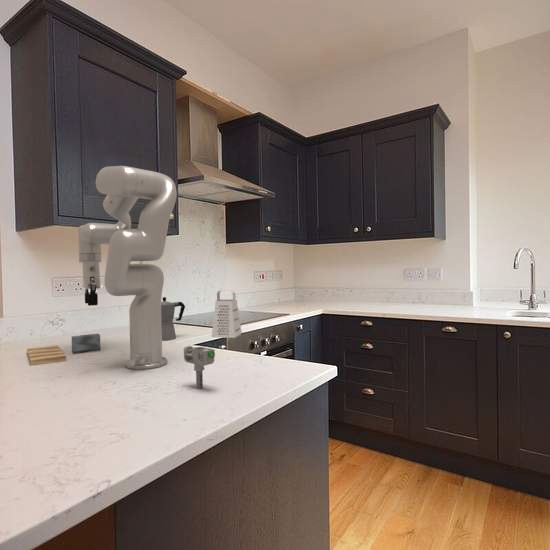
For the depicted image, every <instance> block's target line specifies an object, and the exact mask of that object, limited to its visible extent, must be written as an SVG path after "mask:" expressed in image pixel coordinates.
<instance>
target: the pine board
mask: <svg viewBox="0 0 550 550" xmlns="http://www.w3.org/2000/svg"><path fill="white" fill-rule="evenodd" d="M26 353H27V357H28V361H29V363H30V366H37V365H44V364H49V363H50V364H51V363H59V362H60V363H61V362H66V361H67V356H66V354H65V353H64V351H63V350H62V349H61V347H60V346H59V345H58V344H56V345H55V344H54V345H46V346H41V347H40V346H38V347H30V348H26Z"/></svg>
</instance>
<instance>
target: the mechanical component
mask: <svg viewBox="0 0 550 550" xmlns="http://www.w3.org/2000/svg"><path fill="white" fill-rule="evenodd" d="M215 355H216V352H215V349H214V348H209V347H204V346H196V347H193V346H191V345H187V346H185V347H183V360H184V361H185V362H186V363H188V364H193V366H194V367H193V370H194V371H195V379H196V380H195V381H196V382H195V385H196V389H201V388H204V387H203V386H204V384H203V382H204V381H203V376H204V375H203V371H204V370H205V366H208V365H212V364H214V362H215V357H216V356H215Z"/></svg>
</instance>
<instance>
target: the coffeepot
mask: <svg viewBox="0 0 550 550" xmlns="http://www.w3.org/2000/svg"><path fill="white" fill-rule="evenodd" d="M176 307H180V308H179V309H180V311H179V313H178V318H176V319H175V309H176ZM185 308H186V305H185V303H183V302H182V301H176V302H170V301H167V297H166V296H163V297H162V301H161V325H162V342H165V341H167V342H168V341H173V340H175V339H176V338H177V335H176V330H175V329H176V328H175V325H174V319H175V320H176V322H178V321H181V320H182V318H183V315H184V312H185Z"/></svg>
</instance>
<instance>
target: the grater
mask: <svg viewBox="0 0 550 550" xmlns="http://www.w3.org/2000/svg"><path fill="white" fill-rule="evenodd" d="M221 292H231V293H232V299H221ZM213 311H214V313H213V321H212V322H213V323H212V332H211V338H222V339H223V338H227V339H229V338H230V339H235V338H237V337H239V336H240V335H242V333H243V331H242V327H241V326H242V325H241V320H240V313H239V307H238V300H237V299H236V292H235V290H233V289H232V290H229V289H228V290H227V289H226V290H225V289H223V290H221V289H220V290H218V291H217V292H216V300H215V302H214V310H213Z"/></svg>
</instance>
